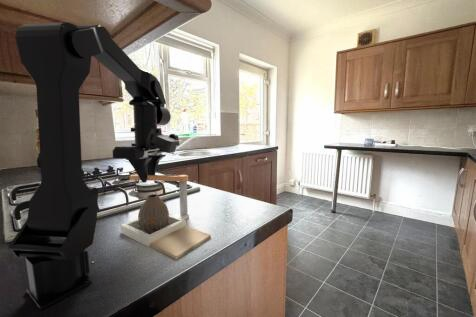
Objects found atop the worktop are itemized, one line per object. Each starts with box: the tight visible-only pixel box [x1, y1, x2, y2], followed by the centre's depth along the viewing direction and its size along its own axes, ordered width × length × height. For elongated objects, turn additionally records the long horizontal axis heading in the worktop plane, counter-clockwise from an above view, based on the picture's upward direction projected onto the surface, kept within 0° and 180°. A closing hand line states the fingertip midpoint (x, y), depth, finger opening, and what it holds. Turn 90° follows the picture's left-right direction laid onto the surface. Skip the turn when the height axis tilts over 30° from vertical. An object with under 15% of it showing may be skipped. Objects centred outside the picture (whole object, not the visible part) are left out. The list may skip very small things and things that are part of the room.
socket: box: [120, 181, 190, 247], centre depth 54 cm, size 16×11×10 cm
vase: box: [137, 193, 170, 235], centre depth 52 cm, size 7×7×9 cm
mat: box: [149, 225, 212, 260], centre depth 48 cm, size 10×10×1 cm
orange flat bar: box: [129, 174, 189, 182], centre depth 59 cm, size 16×3×1 cm, turn 87°
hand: (148, 180), depth 60 cm, fingers open, 3 cm apart
